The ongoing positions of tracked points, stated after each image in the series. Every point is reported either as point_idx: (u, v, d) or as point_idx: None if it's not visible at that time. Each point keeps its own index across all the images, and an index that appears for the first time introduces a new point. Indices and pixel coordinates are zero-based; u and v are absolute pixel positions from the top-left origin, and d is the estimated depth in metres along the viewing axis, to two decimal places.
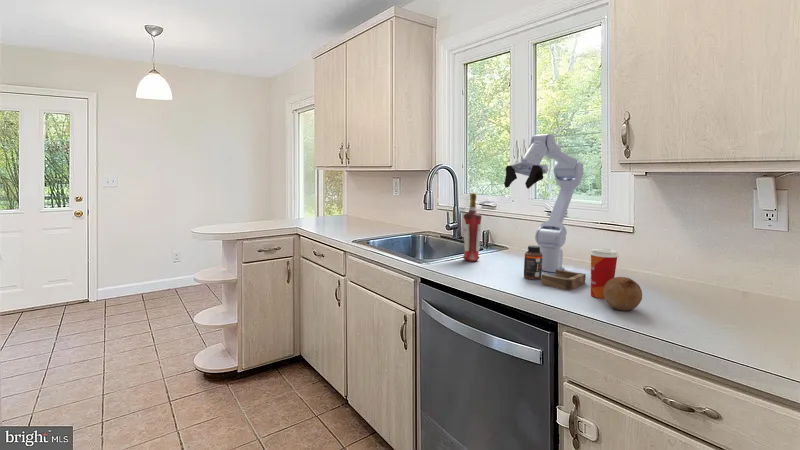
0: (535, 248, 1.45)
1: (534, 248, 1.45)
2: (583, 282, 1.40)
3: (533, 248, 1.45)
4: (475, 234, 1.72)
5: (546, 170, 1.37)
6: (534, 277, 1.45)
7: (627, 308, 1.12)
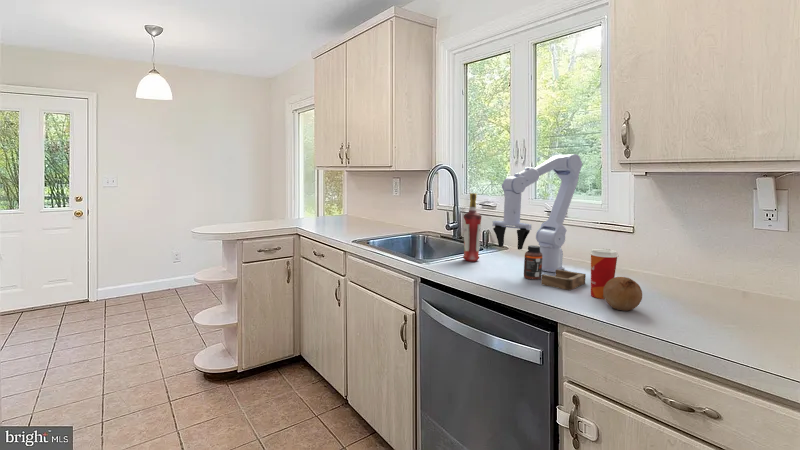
0: (535, 248, 1.45)
1: (534, 248, 1.45)
2: (583, 282, 1.40)
3: (533, 248, 1.45)
4: (475, 234, 1.72)
5: (530, 228, 1.47)
6: (534, 277, 1.45)
7: (627, 308, 1.12)
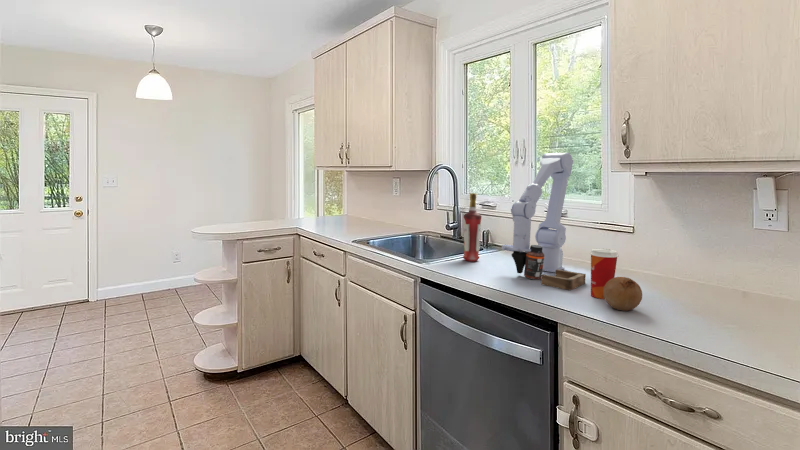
0: (537, 248, 1.44)
1: (536, 248, 1.44)
2: (583, 282, 1.40)
3: (535, 248, 1.44)
4: (475, 234, 1.72)
5: None
6: (534, 277, 1.45)
7: (627, 308, 1.12)
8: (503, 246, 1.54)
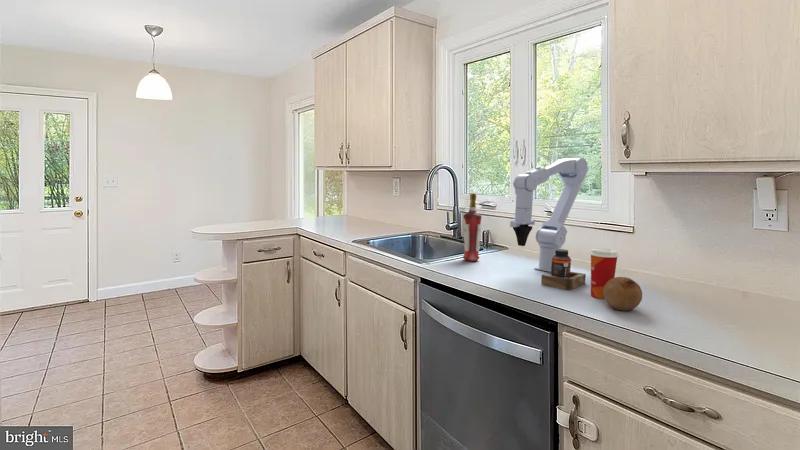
0: (563, 252, 1.38)
1: (562, 252, 1.38)
2: (583, 282, 1.40)
3: (561, 252, 1.38)
4: (475, 234, 1.72)
5: (512, 225, 1.47)
6: None
7: (627, 308, 1.12)
8: None
